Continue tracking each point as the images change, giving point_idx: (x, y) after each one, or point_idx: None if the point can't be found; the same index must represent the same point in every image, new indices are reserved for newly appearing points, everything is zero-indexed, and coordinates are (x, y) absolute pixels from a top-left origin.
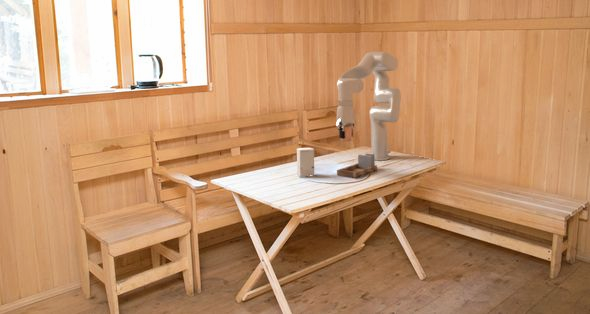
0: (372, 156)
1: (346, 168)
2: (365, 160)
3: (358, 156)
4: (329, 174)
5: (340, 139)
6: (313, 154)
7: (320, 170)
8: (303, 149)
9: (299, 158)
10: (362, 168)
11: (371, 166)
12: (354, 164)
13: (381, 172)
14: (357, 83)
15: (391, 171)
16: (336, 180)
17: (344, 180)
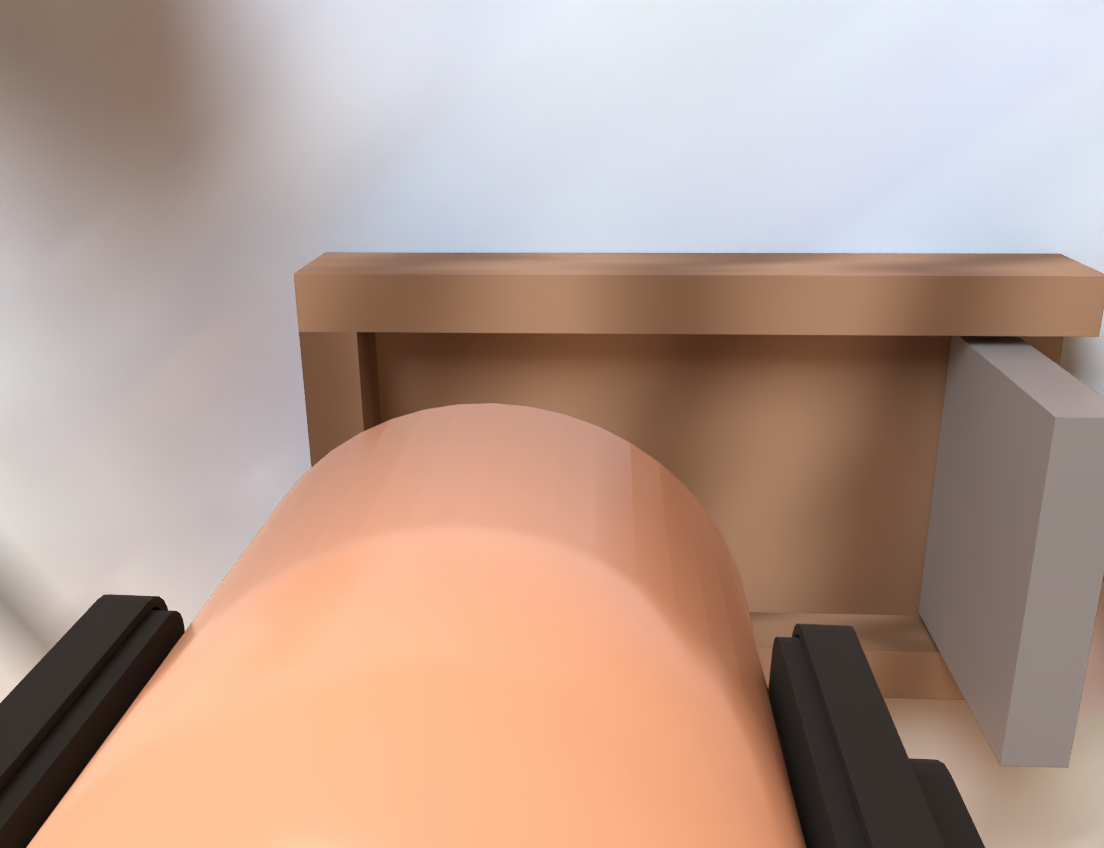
0: (1063, 762)
1: (551, 330)
2: (985, 571)
3: (1038, 414)
4: (305, 64)
5: (283, 501)
6: None
7: None
8: None
9: None
10: (940, 423)
11: (919, 658)
12: (922, 285)
13: (937, 747)
14: None
15: (1075, 835)
16: (76, 444)
17: (164, 548)
